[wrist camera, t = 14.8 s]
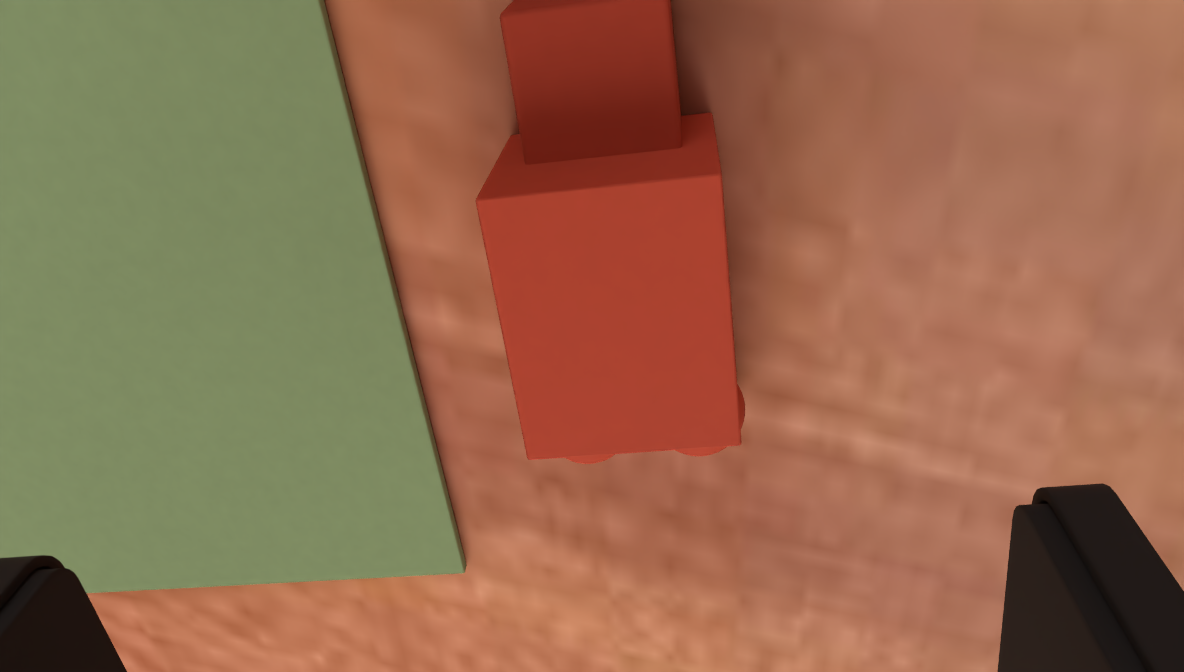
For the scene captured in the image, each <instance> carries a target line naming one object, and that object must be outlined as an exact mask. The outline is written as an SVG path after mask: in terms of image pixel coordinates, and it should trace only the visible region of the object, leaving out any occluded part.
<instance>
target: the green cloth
mask: <svg viewBox="0 0 1184 672" xmlns="http://www.w3.org/2000/svg"><path fill="white" fill-rule="evenodd" d="M38 555H47V556H53V557H55V558H56V559H58V560H60V562H61V563H62V564H63V566H64V567H65V568H67V569H70V570H71V571H73V572H74V573H75V574H76V576H77V577H78V578H79V580H80V582H81V584H82V586H83V588H84V590H85V592H86V593H99V592H118V591H137V590H156V589H175V588H194V587H212V586H231V585H250V584H269V583H288V582H307V581H326V580H345V579H364V578H383V577H402V576H421V575H439V574H458V573H465V569H466V562H465V558H464V554H463V550H462V546H461V542H460V538H459V534H458V530H457V526H456V522H455V518H454V514H453V510H452V506H451V502H450V498H449V494H448V490H447V486H446V482H445V479H444V475H443V471H442V467H441V463H440V459H439V455H438V451H437V447H436V443H435V439H434V435H433V431H432V427H431V423H430V419H429V415H428V411H427V407H426V403H425V399H424V395H423V391H422V387H421V383H420V379H419V375H418V371H417V368H416V364H415V360H414V356H413V352H412V348H411V344H410V340H409V336H408V332H407V328H406V324H405V320H404V316H403V312H402V308H401V304H400V300H399V296H398V292H397V288H396V284H395V280H394V276H393V272H392V268H391V264H390V260H389V257H388V253H387V249H386V245H385V241H384V237H383V233H382V229H381V225H380V221H379V217H378V213H377V209H376V205H375V201H374V197H373V193H372V189H371V185H370V181H369V177H368V173H367V169H366V165H365V161H364V157H363V153H362V149H361V146H360V142H359V138H358V134H357V130H356V126H355V122H354V118H353V114H352V110H351V106H350V102H349V98H348V94H347V90H346V86H345V82H344V78H343V74H342V70H341V66H340V62H339V58H338V54H337V50H336V46H335V42H334V38H333V35H332V31H331V27H330V23H329V19H328V15H327V11H326V7H325V3H324V0H0V558H8V557H23V556H38Z"/></svg>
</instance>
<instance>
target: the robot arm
mask: <svg viewBox="0 0 1184 672" xmlns="http://www.w3.org/2000/svg"><path fill="white" fill-rule="evenodd" d="M0 672H127V671H126V669H125V667H124V665H123V663H122V661H121V659H120V657H119V656H118V654H117V652H116V650H115V648H114V646H113V644H112V642H111V640H110V638H109V636H108V634H107V632H106V630H105V629H104V627H103V625H102V623H101V621H100V619H99V617H98V615H97V613H96V611H95V609H94V607H93V605H92V603H91V602H90V600H89V598H88V596H87V594H86V592H85V590H84V588H83V586H82V584H81V582H80V580H79V578H78V577H77V576H76V574H75V573H74V572H73V571H71V570H70V569H67V568H65V567H64V566H63V564H62V563H61V562H60V560H58V559H56V558H55V557H53V556H47V555H38V556H23V557H8V558H0ZM998 672H1184V591H1183V590H1182V588H1181V587H1180V585H1179V584H1178V582H1177V581H1176V580H1175V578H1174V577H1173V575H1172V574H1171V572H1170V571H1169V569H1168V568H1167V567H1166V565H1165V564H1164V562H1163V561H1162V559H1161V558H1160V556H1159V555H1158V554H1157V552H1156V551H1155V549H1154V548H1153V546H1152V545H1151V543H1150V542H1149V541H1148V539H1147V538H1146V536H1145V535H1144V533H1143V532H1142V530H1141V529H1140V528H1139V526H1138V525H1137V523H1136V522H1135V520H1134V519H1133V517H1132V516H1131V515H1130V513H1129V512H1128V510H1127V509H1126V507H1125V506H1124V504H1123V503H1122V501H1121V500H1120V499H1119V497H1118V496H1117V494H1116V493H1115V492H1114V491H1113V490H1112V489H1111V488H1110V486H1107V485H1105V484H1090V485H1075V486H1060V487H1045V488H1040V489H1037V490H1036V492H1035V494H1034V496H1033V501H1032V505H1019V506H1016V508H1015V510H1014V514H1013V520H1012V530H1011V540H1010V550H1009V561H1008V571H1007V581H1006V591H1005V602H1004V612H1003V622H1002V633H1001V643H1000V653H999V663H998Z"/></svg>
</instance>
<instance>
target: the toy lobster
mask: <svg viewBox="0 0 1184 672" xmlns="http://www.w3.org/2000/svg"><path fill="white" fill-rule="evenodd" d="M500 22H501V28H502V33H503V39H504V45H505V51H506V57H507V62H508V68H509V74H510V80H511V86H512V91H513V97H514V103H515V109H516V115H517V120H518V126H519V132H520V134H518V135H511V136H510V138H509V139H508V141H507V143H506V145H505V147H504V149H503V151H502V152H501V154H500V156H499V158H498V160H497V162H496V163H495V165H494V167H493V169H492V171H491V173H490V174H489V176H488V178H487V180H486V182H485V184H484V185H483V187H482V189H481V191H480V193H479V195H478V196H477V198H476V205H477V210H478V215H479V220H480V225H481V230H482V235H483V240H484V245H485V250H486V255H487V260H488V265H489V270H490V275H491V280H492V285H493V290H494V295H495V300H496V305H497V310H498V315H499V320H500V325H501V329H502V334H503V339H504V344H505V349H506V354H507V359H508V364H509V369H510V374H511V379H512V384H513V389H514V394H515V399H516V404H517V409H518V414H519V419H520V424H521V429H522V434H523V439H524V444H525V449H526V454H527V458H528V459H529V460H534V459H549V458H563V457H565V458H566V459H568V460H571V461H574V462H577V463H584V464H591V463H597V462H601V461H604V460H607V459H608V458H610V457H612V456H613V455H615V454H622V453H636V452H651V451H665V450H676V451H678V452H680V453H683V454H686V455H691V456H706V455H711V454H714V453H717V452H719V451H721V450H723V449H724V448H726V447H727V446H738V445H741V428H742V425H743V422H744V417H745V403H744V398H743V395H742V392H741V390H740V388H739V386H738V384H737V375H736V362H735V348H734V334H733V321H732V307H731V294H730V280H729V266H728V253H727V239H726V225H725V212H724V198H723V185H722V173H721V167H720V160H719V154H718V147H717V141H716V134H715V128H714V121H713V115H712V113H702V114H693V115H684V116H681V109H680V98H679V87H678V76H677V65H676V54H675V44H674V33H673V22H672V11H671V0H514V1H513V2H512V3H511V4H510V5H509V6H508V7H507V8H506V9H505V10H504V11H503V12H502V13H501V15H500Z"/></svg>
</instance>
